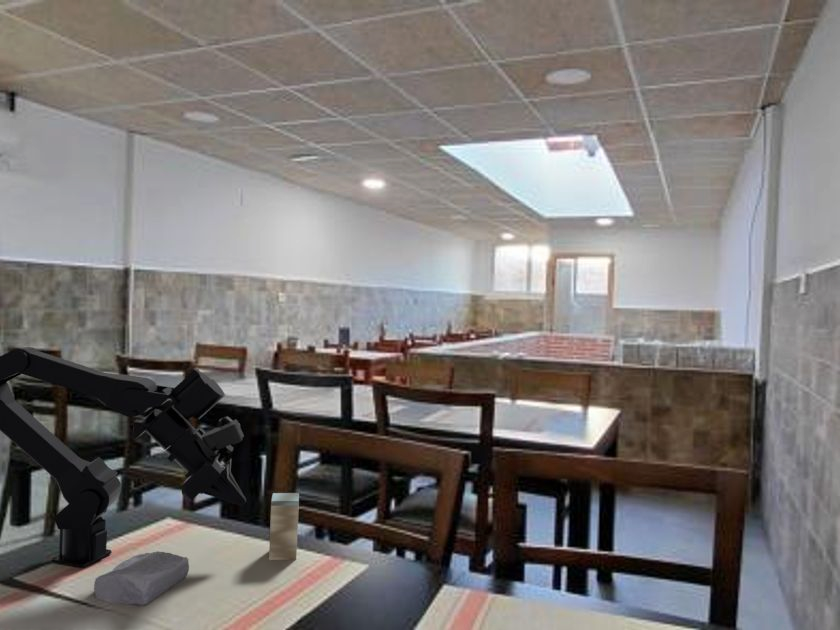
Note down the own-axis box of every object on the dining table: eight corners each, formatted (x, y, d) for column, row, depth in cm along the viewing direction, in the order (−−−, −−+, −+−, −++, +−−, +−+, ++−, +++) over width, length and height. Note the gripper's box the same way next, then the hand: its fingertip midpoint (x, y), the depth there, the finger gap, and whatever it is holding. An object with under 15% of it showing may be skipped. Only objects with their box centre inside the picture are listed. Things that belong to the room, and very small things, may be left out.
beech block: (268, 560, 109) (271, 501, 108) (270, 550, 113) (272, 493, 113) (296, 559, 109) (298, 500, 109) (296, 549, 114) (299, 493, 114)
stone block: (86, 612, 92) (148, 608, 90) (83, 578, 92) (144, 573, 90) (139, 581, 104) (195, 577, 102) (135, 551, 104) (191, 546, 102)
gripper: (206, 414, 100) (276, 485, 101) (223, 396, 118) (282, 456, 120) (150, 465, 98) (222, 535, 100) (176, 439, 117) (236, 499, 119)
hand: (244, 503), depth 110 cm, fingers closed
